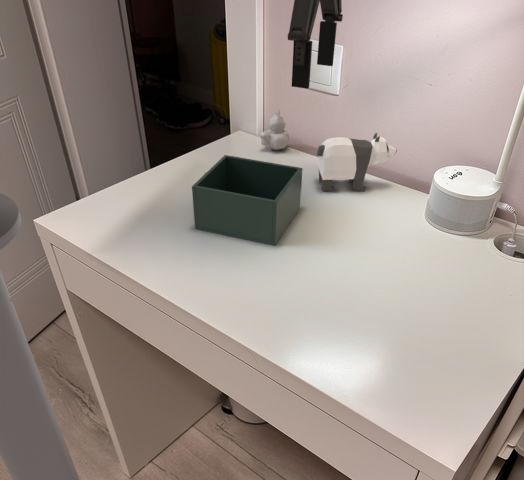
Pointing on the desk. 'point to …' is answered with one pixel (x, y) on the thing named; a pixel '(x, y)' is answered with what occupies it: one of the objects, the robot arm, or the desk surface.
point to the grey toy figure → (275, 133)
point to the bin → (247, 199)
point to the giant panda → (350, 160)
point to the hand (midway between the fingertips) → (313, 75)
